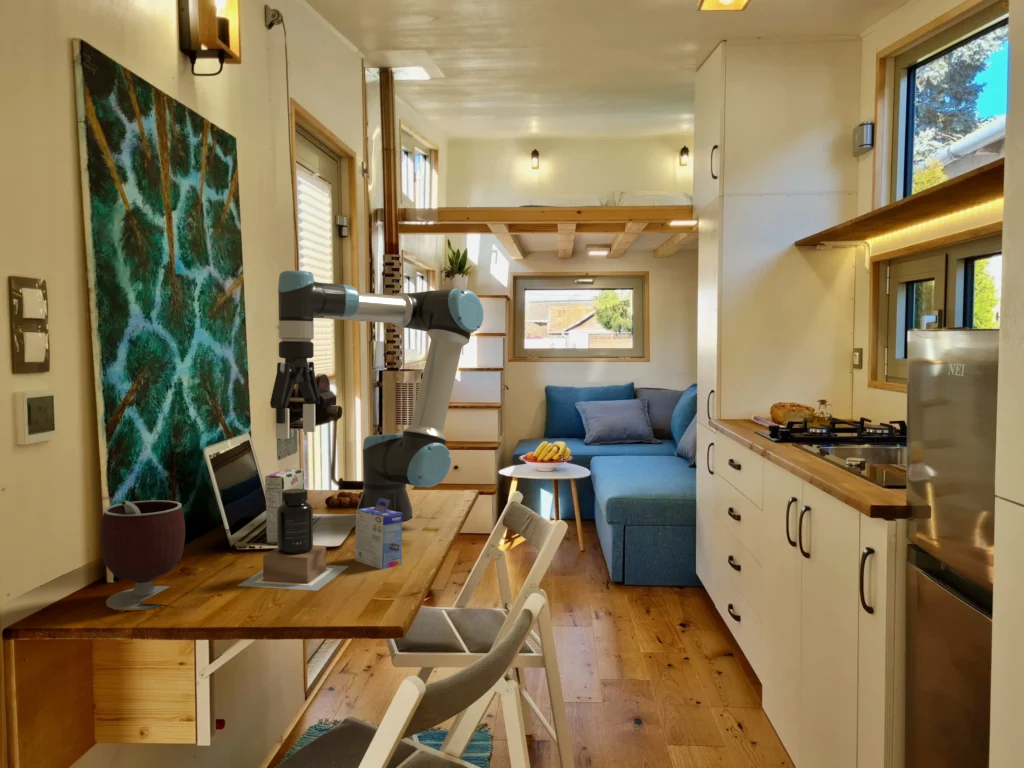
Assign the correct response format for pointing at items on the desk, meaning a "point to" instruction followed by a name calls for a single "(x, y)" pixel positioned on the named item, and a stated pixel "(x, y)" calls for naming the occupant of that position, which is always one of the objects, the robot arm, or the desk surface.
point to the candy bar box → (279, 495)
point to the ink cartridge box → (378, 536)
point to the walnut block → (294, 566)
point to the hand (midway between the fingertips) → (296, 435)
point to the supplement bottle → (294, 523)
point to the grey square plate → (312, 585)
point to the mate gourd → (141, 547)
